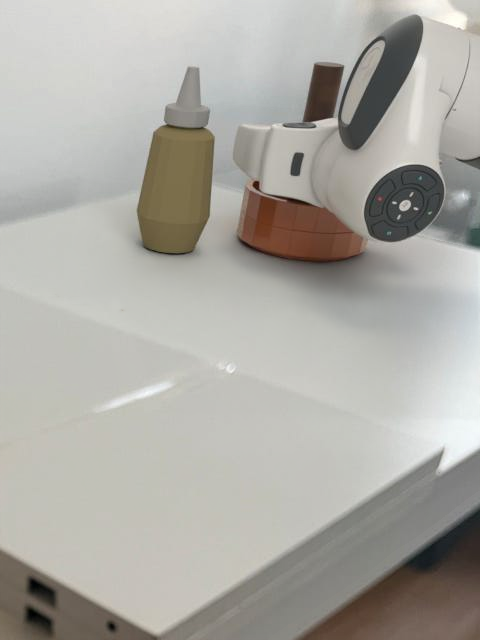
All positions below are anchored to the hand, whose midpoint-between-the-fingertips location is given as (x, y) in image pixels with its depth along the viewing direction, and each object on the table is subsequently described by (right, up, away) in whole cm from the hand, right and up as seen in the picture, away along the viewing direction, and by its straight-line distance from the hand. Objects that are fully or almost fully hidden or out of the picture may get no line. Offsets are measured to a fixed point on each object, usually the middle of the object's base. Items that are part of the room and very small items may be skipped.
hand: (311, 135), depth 116 cm
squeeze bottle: (-16, -12, +1) cm, 20 cm away
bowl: (0, -11, +4) cm, 11 cm away
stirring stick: (0, -8, +5) cm, 9 cm away
